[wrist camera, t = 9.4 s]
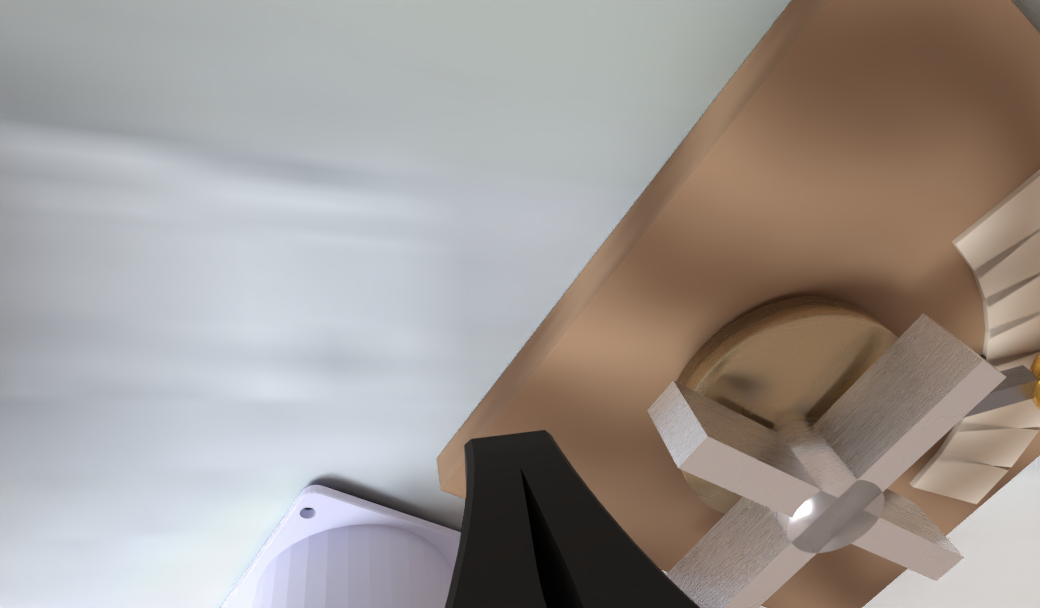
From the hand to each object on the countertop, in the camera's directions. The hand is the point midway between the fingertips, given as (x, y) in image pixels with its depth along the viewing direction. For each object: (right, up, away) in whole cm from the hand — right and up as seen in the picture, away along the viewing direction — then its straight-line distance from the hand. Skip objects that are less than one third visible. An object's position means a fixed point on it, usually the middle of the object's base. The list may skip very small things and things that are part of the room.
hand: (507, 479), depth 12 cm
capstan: (+10, -1, +13) cm, 17 cm away
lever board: (+12, +1, +14) cm, 19 cm away
